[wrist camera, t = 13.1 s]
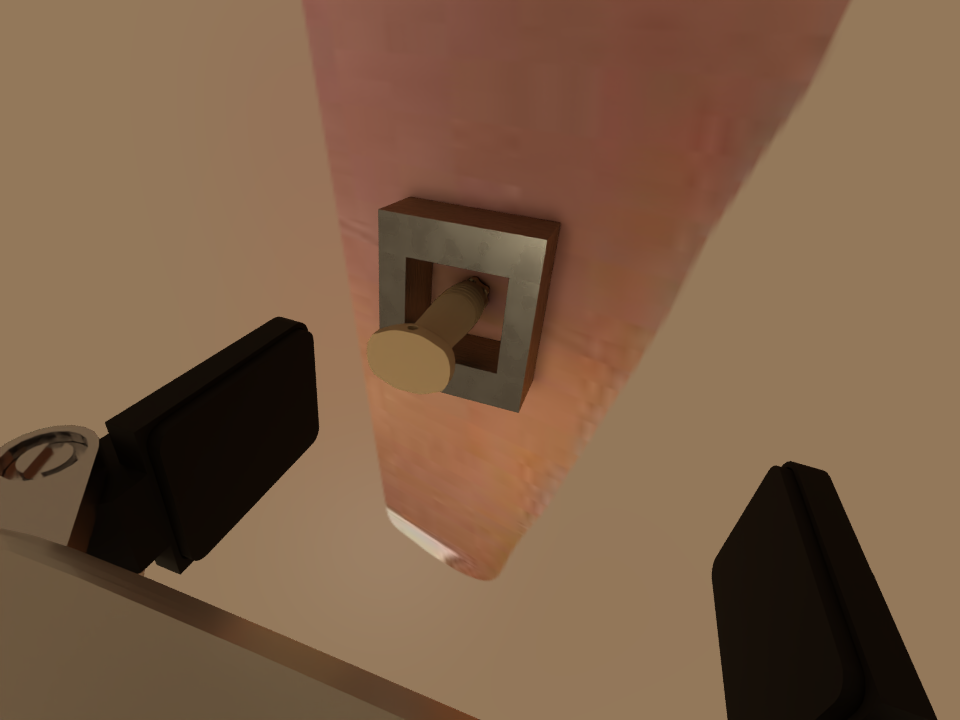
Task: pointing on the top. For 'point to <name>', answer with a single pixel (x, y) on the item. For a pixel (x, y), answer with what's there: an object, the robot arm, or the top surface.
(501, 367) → the socket block
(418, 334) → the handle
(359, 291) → the top surface
